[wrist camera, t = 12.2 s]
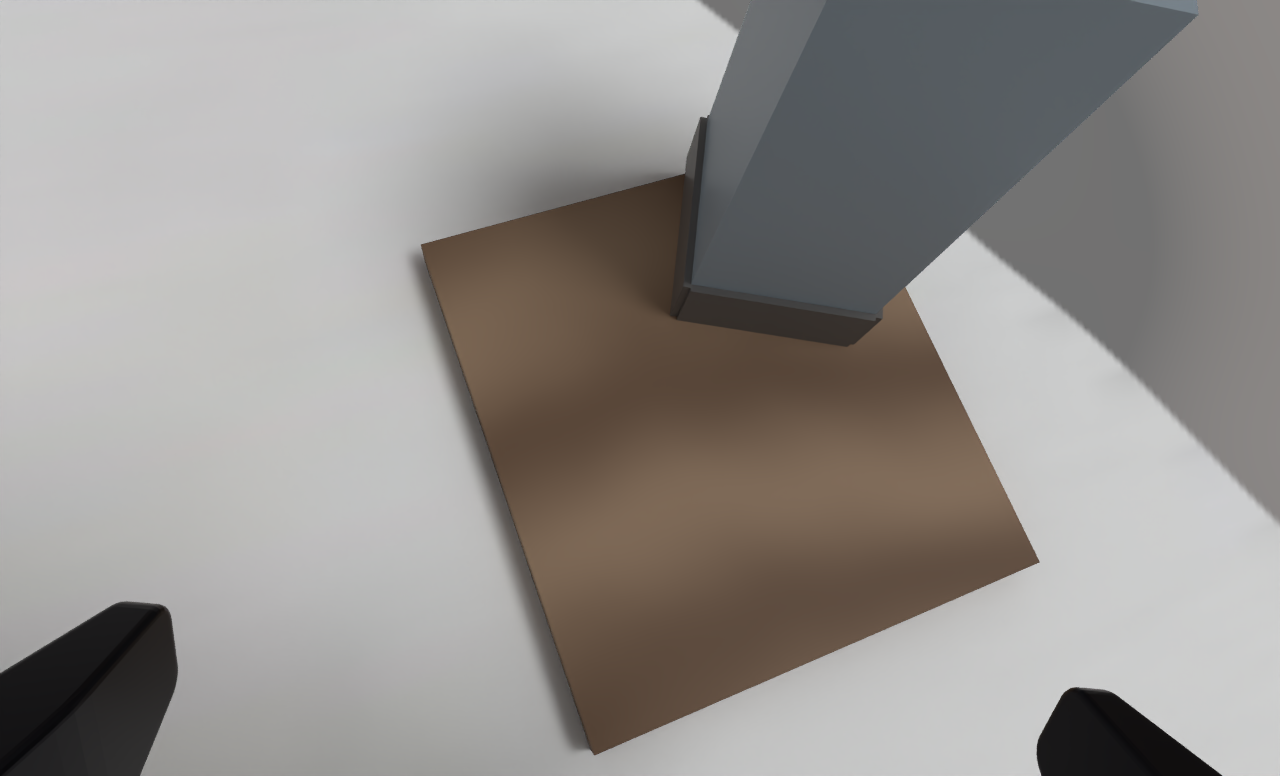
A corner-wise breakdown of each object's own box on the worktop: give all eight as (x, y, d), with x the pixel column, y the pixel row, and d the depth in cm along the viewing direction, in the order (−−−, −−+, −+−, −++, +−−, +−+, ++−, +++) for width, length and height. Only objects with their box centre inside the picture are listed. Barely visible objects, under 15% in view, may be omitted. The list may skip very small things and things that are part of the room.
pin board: (1018, 565, 24) (1144, 545, 19) (590, 750, 21) (612, 781, 16) (819, 152, 27) (884, 47, 22) (424, 260, 24) (401, 165, 19)
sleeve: (854, 347, 24) (1213, 28, 11) (669, 318, 23) (838, -49, 11) (858, 184, 25) (1176, -247, 13) (687, 154, 25) (851, -325, 13)
